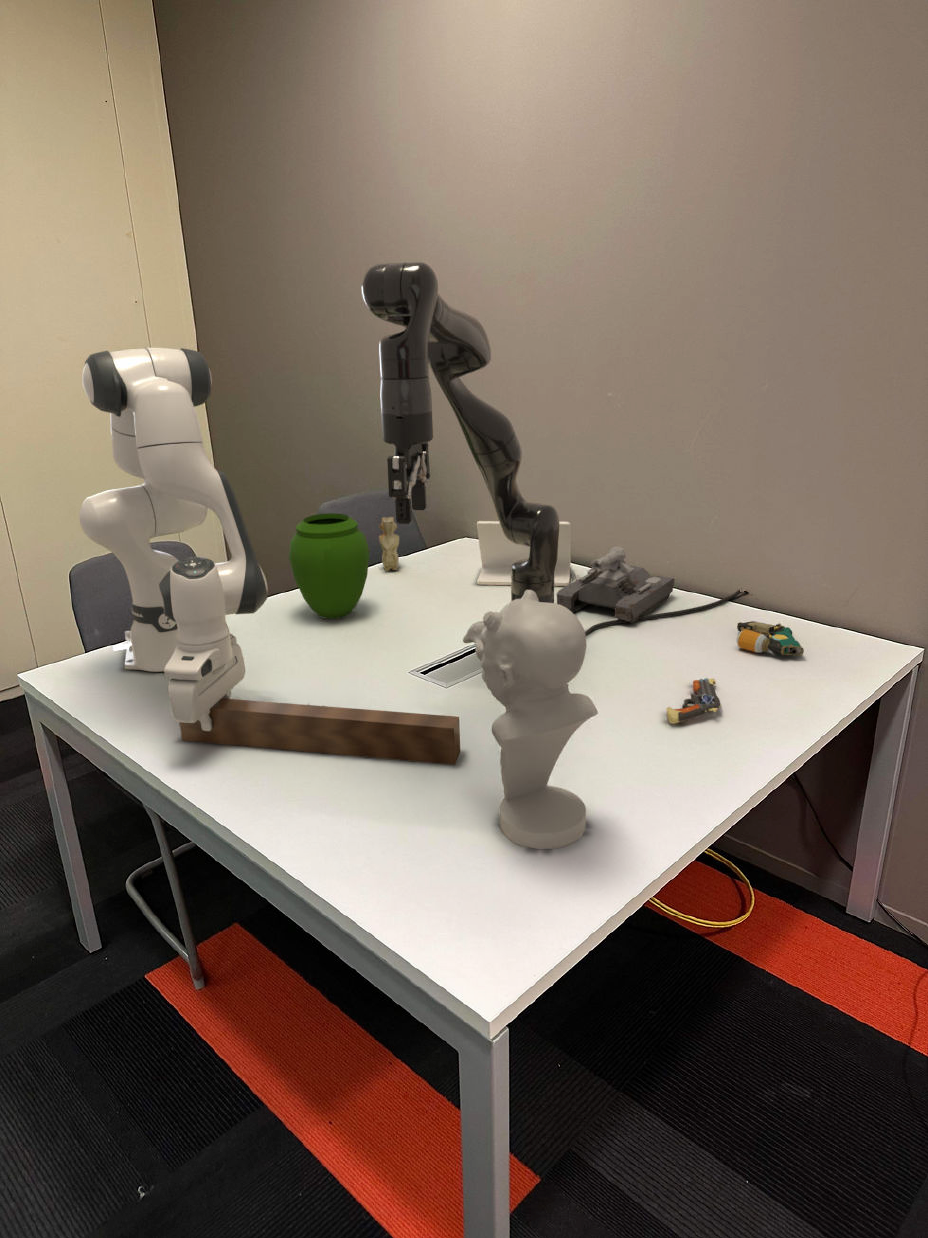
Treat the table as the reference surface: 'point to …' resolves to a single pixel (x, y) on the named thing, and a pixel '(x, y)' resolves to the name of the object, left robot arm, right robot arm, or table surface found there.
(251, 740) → the beam
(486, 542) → the tablet stand
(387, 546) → the sculpture
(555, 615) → the bust sculpture
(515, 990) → the table surface
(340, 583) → the vase
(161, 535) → the left robot arm
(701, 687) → the toy gun
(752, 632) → the spray gun
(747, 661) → the table surface
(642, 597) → the toy
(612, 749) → the table surface
